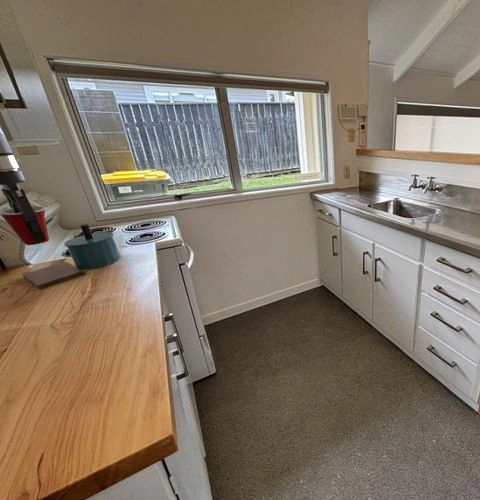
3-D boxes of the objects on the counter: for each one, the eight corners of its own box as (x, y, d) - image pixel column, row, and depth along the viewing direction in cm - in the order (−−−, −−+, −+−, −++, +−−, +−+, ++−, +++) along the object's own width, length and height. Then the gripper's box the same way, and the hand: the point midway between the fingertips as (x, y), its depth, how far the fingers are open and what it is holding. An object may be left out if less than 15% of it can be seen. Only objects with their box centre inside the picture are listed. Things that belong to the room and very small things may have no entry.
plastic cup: (44, 246, 94) (27, 210, 89) (5, 249, 92) (-14, 214, 87) (67, 235, 103) (53, 203, 99) (32, 238, 101) (16, 206, 97)
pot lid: (54, 249, 102) (46, 232, 100) (84, 236, 116) (77, 220, 113) (97, 246, 103) (90, 229, 101) (122, 233, 117) (116, 218, 114)
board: (39, 289, 93) (37, 285, 93) (23, 277, 102) (21, 274, 101) (85, 274, 103) (83, 270, 102) (67, 265, 111) (65, 261, 111)
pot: (67, 271, 106) (56, 247, 102) (93, 256, 118) (84, 235, 115) (106, 267, 107) (96, 244, 104) (127, 254, 120) (120, 233, 116)
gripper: (29, 170, 86) (61, 239, 95) (11, 168, 96) (41, 231, 105) (-8, 173, 80) (30, 247, 89) (-23, 171, 90) (12, 237, 99)
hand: (36, 238), depth 97 cm, fingers closed on plastic cup, 8 cm apart
